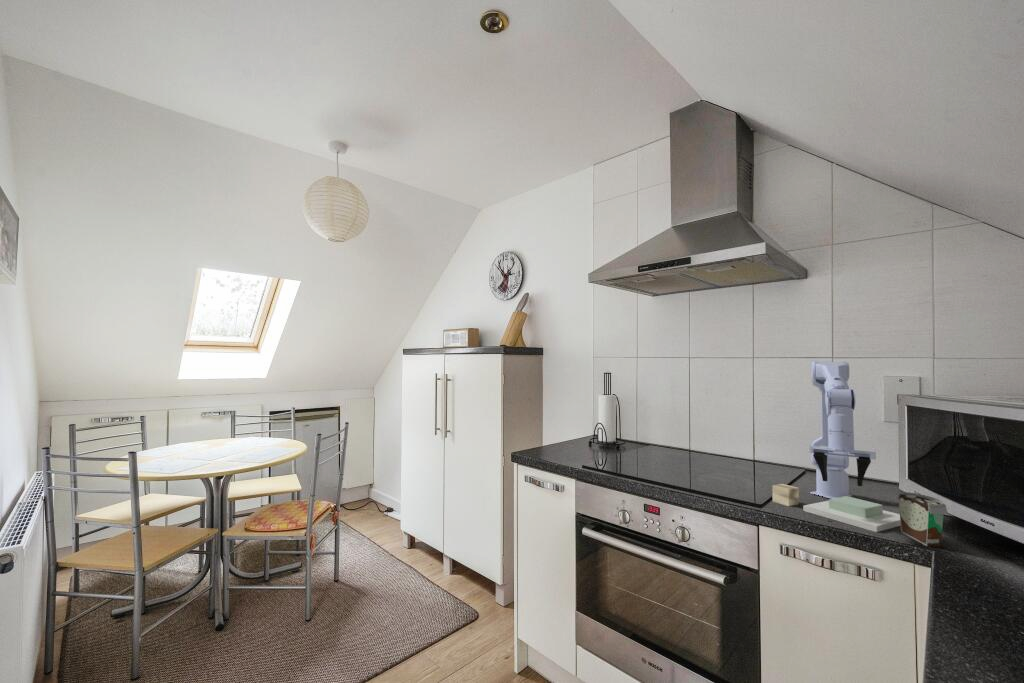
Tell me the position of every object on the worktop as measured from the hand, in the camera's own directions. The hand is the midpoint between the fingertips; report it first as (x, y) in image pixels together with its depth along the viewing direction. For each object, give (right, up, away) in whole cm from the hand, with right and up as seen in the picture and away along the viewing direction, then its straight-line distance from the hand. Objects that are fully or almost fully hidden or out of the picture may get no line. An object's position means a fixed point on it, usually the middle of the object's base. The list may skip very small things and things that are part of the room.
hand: (842, 483), depth 121 cm
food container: (+12, -10, -12) cm, 20 cm away
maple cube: (-5, -11, +16) cm, 20 cm away
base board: (+7, -11, +5) cm, 14 cm away
